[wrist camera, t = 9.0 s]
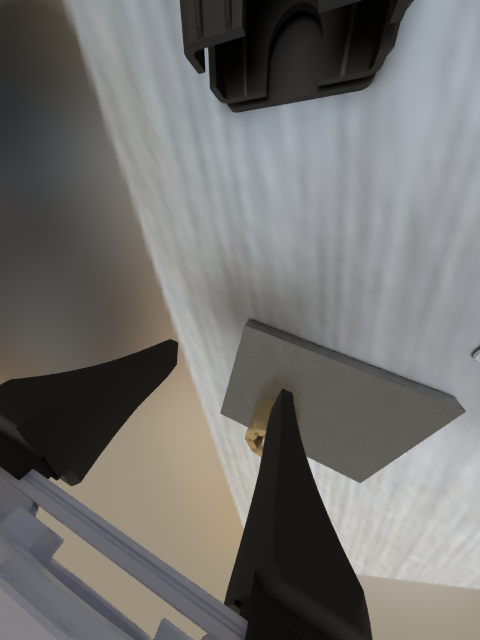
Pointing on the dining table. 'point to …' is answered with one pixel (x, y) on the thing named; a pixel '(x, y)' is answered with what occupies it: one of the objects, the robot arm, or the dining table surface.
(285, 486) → the robot arm
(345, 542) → the dining table surface
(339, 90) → the end cap
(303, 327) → the dining table surface
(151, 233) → the dining table surface
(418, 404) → the shaft stand
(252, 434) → the bronze hub
